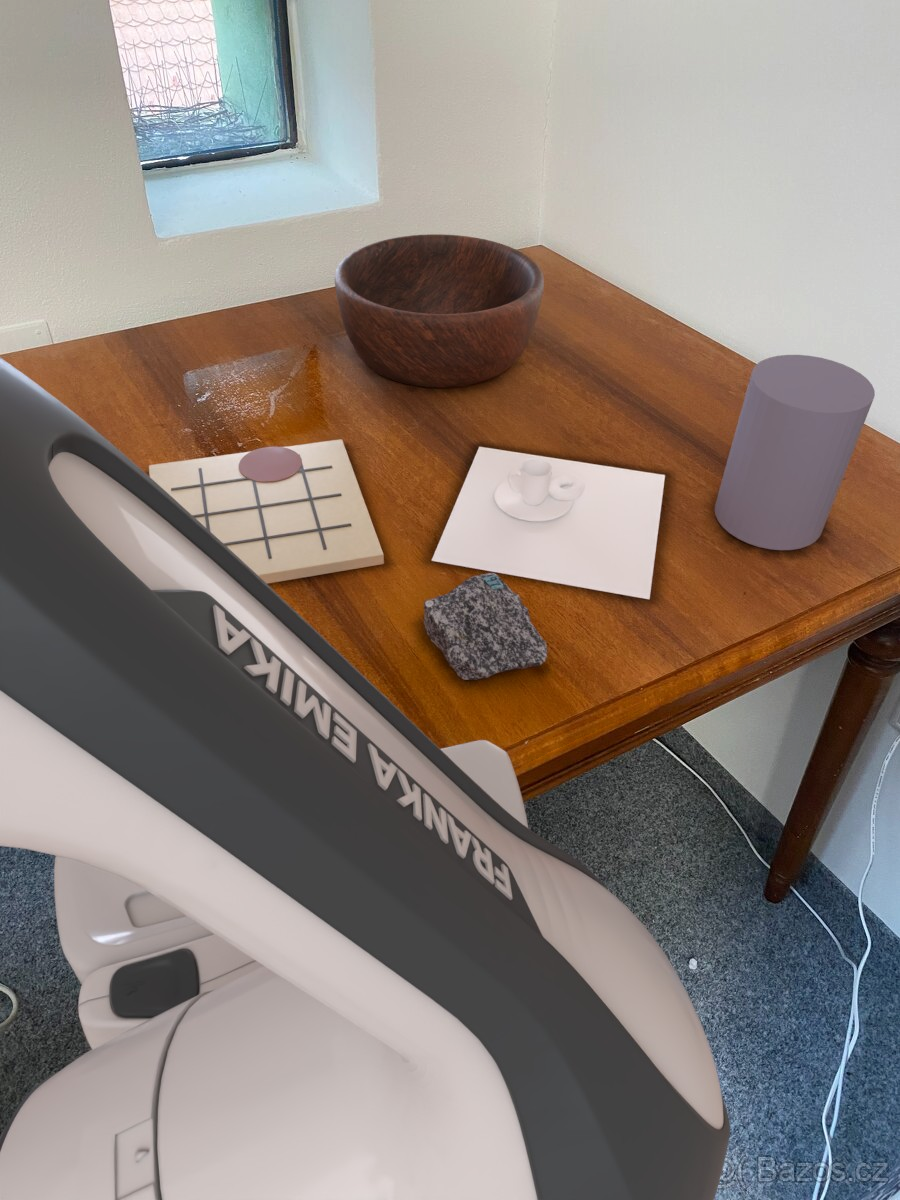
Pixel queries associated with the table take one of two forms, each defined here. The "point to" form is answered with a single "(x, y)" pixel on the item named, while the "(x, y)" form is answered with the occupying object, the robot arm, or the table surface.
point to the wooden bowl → (439, 307)
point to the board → (279, 508)
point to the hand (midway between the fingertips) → (280, 725)
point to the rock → (483, 629)
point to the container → (791, 450)
